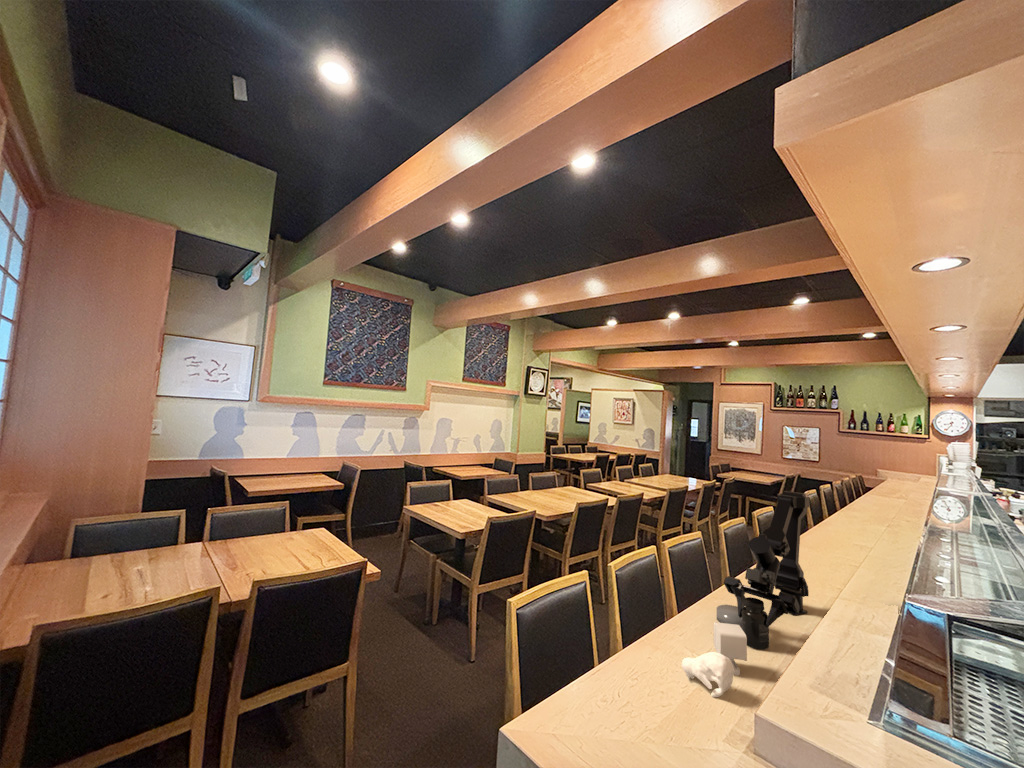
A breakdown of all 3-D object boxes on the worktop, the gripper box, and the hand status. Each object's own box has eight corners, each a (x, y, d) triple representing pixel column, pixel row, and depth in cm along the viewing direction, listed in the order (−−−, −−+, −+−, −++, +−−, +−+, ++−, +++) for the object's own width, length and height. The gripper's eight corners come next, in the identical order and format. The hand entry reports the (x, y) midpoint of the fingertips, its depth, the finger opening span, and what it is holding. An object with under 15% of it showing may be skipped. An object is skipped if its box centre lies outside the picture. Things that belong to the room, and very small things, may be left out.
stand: (733, 612, 139) (733, 603, 139) (760, 627, 130) (760, 617, 130) (709, 616, 136) (709, 606, 136) (735, 631, 126) (734, 621, 127)
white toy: (723, 663, 95) (674, 645, 104) (727, 704, 94) (677, 682, 103) (735, 653, 99) (687, 637, 108) (739, 693, 98) (690, 673, 107)
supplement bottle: (766, 640, 122) (765, 597, 123) (772, 653, 115) (771, 607, 116) (739, 635, 124) (738, 593, 125) (743, 647, 118) (743, 603, 119)
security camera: (747, 678, 104) (747, 635, 105) (717, 673, 105) (716, 632, 106) (739, 663, 110) (738, 623, 111) (710, 659, 112) (710, 620, 112)
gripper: (725, 549, 131) (710, 594, 123) (795, 566, 117) (783, 619, 109) (736, 569, 136) (722, 614, 128) (804, 588, 122) (793, 640, 114)
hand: (752, 621), depth 119 cm, fingers closed on supplement bottle, 7 cm apart
